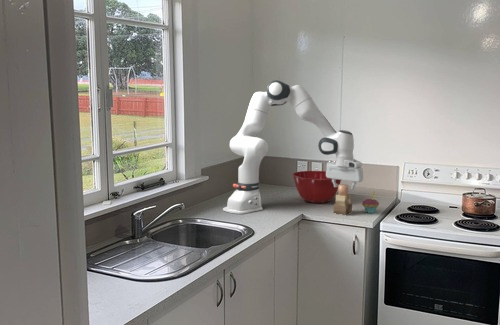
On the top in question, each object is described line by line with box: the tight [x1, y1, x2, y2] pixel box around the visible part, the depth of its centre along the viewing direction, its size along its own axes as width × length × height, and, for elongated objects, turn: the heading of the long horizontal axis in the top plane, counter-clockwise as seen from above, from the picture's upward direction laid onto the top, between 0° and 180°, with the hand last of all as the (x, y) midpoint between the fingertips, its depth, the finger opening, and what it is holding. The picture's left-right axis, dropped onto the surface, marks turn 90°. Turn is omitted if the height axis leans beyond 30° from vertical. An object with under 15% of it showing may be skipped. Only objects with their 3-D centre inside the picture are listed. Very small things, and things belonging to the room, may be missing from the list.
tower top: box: [335, 193, 352, 206], centre depth 268 cm, size 6×6×5 cm
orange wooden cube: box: [337, 183, 350, 196], centre depth 268 cm, size 5×5×5 cm
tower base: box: [333, 203, 353, 216], centre depth 269 cm, size 7×7×5 cm
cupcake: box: [361, 190, 380, 214], centre depth 271 cm, size 9×8×12 cm
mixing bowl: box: [292, 170, 342, 204], centre depth 297 cm, size 28×28×15 cm
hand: (343, 188), depth 267 cm, fingers open, 8 cm apart
